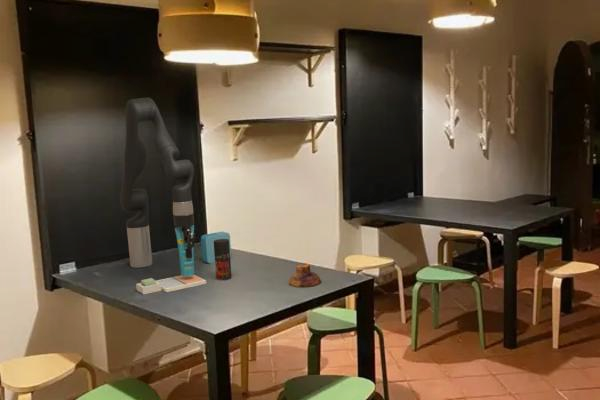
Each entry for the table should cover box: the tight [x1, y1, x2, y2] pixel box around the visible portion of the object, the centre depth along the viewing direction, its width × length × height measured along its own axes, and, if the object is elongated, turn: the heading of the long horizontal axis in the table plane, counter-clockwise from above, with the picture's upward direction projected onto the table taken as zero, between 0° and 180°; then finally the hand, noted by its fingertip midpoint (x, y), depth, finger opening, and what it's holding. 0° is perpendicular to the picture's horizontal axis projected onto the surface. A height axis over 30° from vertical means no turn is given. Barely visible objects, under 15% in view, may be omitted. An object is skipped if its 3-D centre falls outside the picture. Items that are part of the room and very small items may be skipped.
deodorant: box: [214, 239, 233, 281], centre depth 245 cm, size 6×6×15 cm
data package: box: [200, 231, 232, 264], centre depth 275 cm, size 12×4×12 cm, turn 127°
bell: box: [288, 262, 322, 288], centre depth 234 cm, size 12×12×7 cm
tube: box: [174, 224, 195, 277], centre depth 242 cm, size 7×5×19 cm, turn 123°
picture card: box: [156, 274, 207, 293], centre depth 242 cm, size 14×16×1 cm
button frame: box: [135, 280, 163, 295], centre depth 235 cm, size 7×7×2 cm
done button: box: [140, 277, 156, 286], centre depth 235 cm, size 4×4×2 cm
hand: (186, 256), depth 242 cm, fingers closed on tube, 4 cm apart
